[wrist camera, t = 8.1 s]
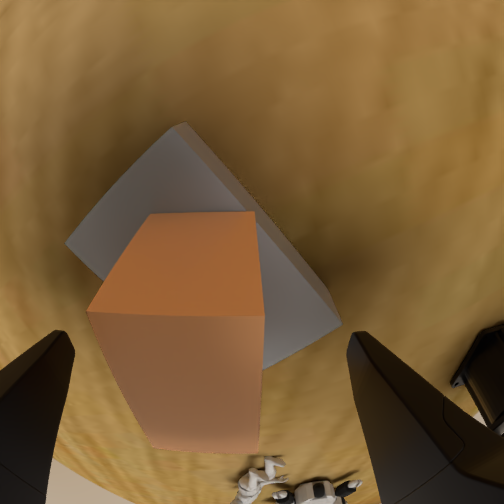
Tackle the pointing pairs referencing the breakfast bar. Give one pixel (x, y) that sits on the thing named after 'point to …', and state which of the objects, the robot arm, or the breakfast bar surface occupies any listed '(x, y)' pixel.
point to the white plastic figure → (258, 481)
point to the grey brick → (208, 200)
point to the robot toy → (317, 493)
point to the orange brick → (188, 330)
